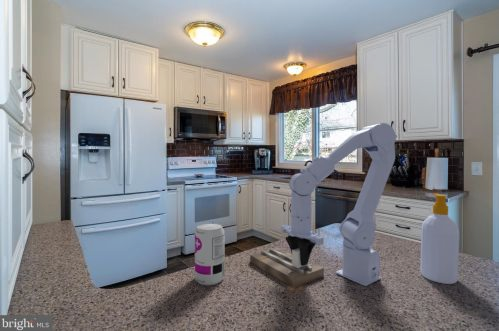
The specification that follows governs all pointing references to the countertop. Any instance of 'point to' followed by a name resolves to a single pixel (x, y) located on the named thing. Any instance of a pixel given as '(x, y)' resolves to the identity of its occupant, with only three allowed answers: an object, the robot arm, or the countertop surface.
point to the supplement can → (209, 253)
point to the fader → (297, 259)
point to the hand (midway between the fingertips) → (300, 262)
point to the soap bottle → (440, 245)
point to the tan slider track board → (285, 267)
